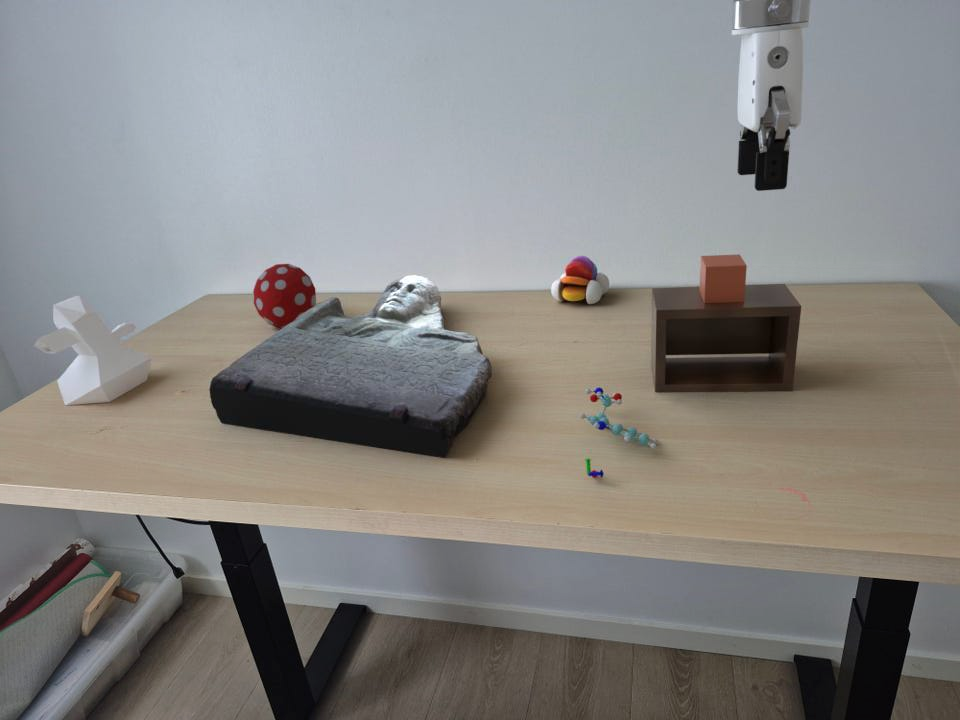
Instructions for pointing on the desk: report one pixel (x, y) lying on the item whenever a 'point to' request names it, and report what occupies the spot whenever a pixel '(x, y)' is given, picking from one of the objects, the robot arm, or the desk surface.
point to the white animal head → (93, 355)
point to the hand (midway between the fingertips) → (760, 181)
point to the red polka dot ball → (283, 294)
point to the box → (722, 278)
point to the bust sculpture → (361, 375)
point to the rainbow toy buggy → (580, 282)
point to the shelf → (724, 340)
